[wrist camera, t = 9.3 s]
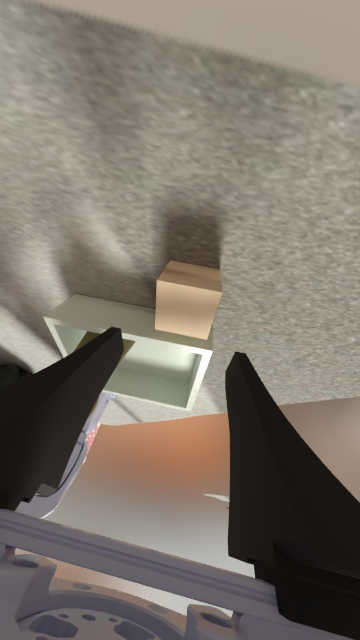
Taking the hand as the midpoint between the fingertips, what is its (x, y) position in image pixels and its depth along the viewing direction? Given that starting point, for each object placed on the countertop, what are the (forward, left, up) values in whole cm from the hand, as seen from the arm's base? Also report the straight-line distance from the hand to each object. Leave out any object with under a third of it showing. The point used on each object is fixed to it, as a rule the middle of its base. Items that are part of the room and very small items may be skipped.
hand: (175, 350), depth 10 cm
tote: (-11, +6, -9) cm, 15 cm away
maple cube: (0, 0, -9) cm, 9 cm away
